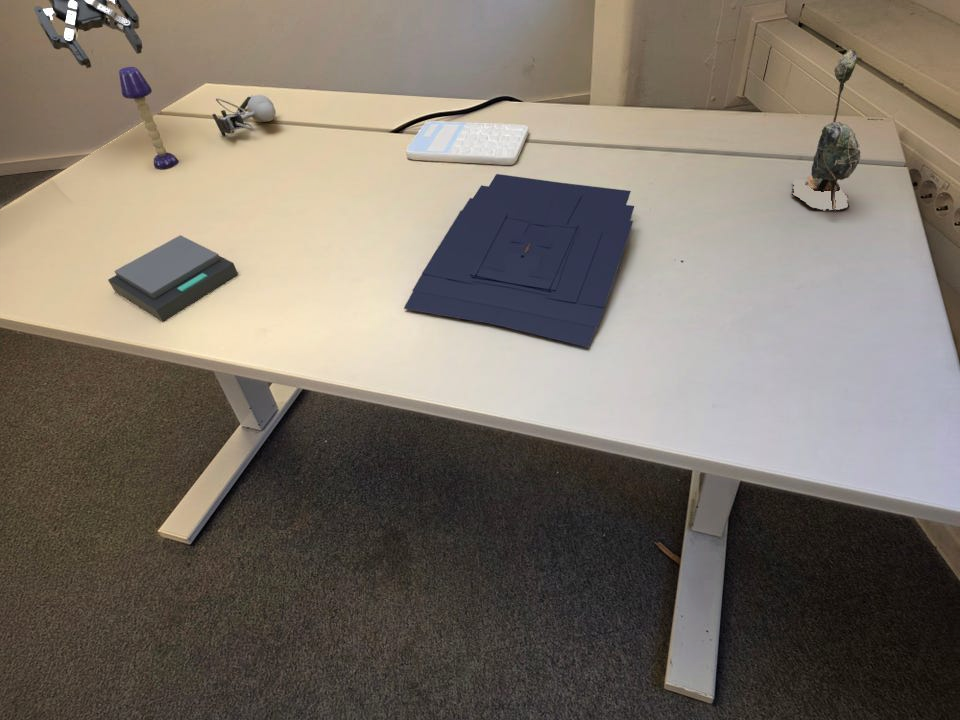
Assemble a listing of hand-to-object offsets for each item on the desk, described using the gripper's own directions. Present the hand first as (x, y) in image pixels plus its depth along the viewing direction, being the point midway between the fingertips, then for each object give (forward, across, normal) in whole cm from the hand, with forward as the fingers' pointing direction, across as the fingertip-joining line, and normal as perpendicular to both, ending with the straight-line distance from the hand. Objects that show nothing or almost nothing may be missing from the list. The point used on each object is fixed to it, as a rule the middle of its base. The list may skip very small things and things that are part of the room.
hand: (114, 57), depth 102 cm
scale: (+42, +15, +17) cm, 48 cm away
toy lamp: (+15, 0, -10) cm, 18 cm away
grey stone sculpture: (+81, -61, +56) cm, 116 cm away
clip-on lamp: (+12, -19, -13) cm, 26 cm away
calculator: (+43, -40, +18) cm, 61 cm away
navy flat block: (+66, -22, +41) cm, 80 cm away
